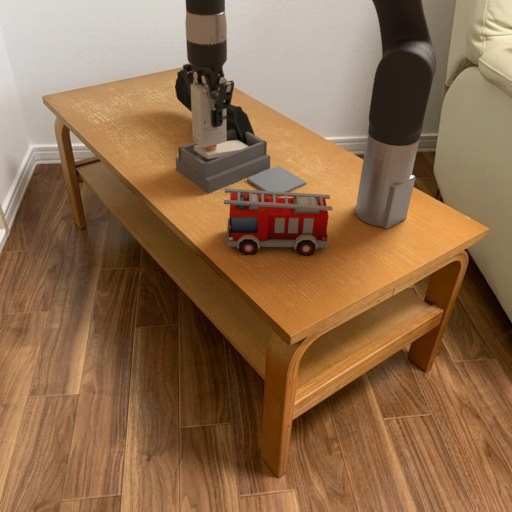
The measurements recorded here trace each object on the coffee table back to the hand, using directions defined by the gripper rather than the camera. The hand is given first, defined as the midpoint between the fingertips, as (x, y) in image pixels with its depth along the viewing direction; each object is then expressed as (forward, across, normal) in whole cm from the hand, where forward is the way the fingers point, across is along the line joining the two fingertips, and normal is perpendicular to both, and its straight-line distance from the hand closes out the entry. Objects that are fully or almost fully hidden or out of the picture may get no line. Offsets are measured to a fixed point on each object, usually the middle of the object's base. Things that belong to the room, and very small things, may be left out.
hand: (209, 121), depth 113 cm
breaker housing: (+12, 0, -4) cm, 13 cm away
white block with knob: (+7, 0, -4) cm, 8 cm away
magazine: (+11, +16, -14) cm, 24 cm away
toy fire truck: (+13, -27, +5) cm, 30 cm away
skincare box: (+5, 0, 0) cm, 5 cm away
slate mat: (+12, -11, -9) cm, 19 cm away
